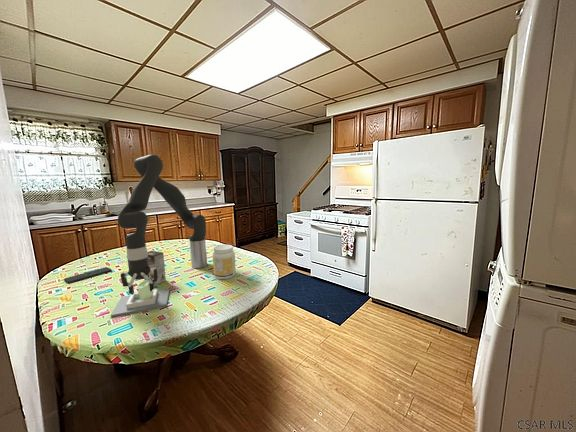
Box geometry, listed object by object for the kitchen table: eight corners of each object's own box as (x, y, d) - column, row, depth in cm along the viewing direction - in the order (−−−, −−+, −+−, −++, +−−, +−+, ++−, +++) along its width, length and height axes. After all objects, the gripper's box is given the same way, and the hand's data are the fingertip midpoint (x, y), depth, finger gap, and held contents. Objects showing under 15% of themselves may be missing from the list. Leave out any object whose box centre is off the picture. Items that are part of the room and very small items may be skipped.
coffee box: (143, 282, 124) (140, 254, 122) (154, 277, 130) (151, 250, 128) (156, 284, 121) (153, 255, 119) (166, 279, 127) (163, 252, 125)
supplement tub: (220, 270, 139) (218, 243, 137) (239, 271, 137) (238, 244, 134) (209, 279, 127) (207, 249, 125) (230, 280, 125) (228, 250, 122)
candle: (147, 302, 102) (143, 285, 100) (137, 302, 103) (133, 285, 101) (155, 296, 106) (152, 280, 105) (146, 296, 107) (142, 279, 106)
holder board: (169, 290, 115) (168, 284, 115) (166, 306, 101) (165, 300, 100) (121, 298, 108) (120, 292, 107) (110, 317, 93) (109, 310, 93)
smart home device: (112, 269, 140) (68, 281, 124) (112, 272, 141) (68, 284, 124) (106, 266, 145) (63, 278, 128) (106, 269, 145) (64, 281, 129)
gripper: (157, 252, 107) (161, 285, 109) (120, 256, 101) (125, 291, 104) (155, 257, 100) (159, 292, 103) (115, 262, 94) (120, 299, 97)
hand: (142, 292), depth 103 cm, fingers open, 6 cm apart
